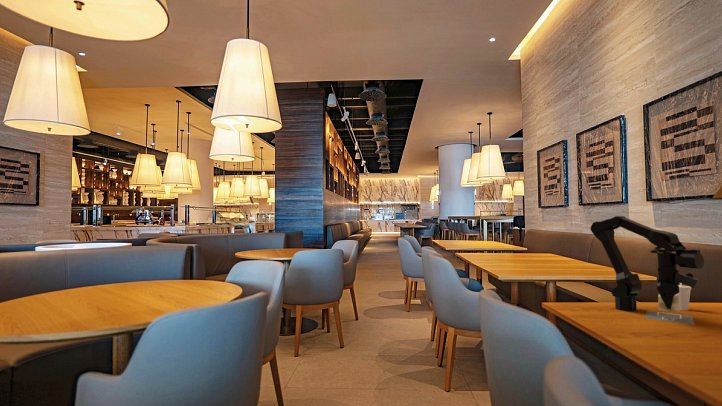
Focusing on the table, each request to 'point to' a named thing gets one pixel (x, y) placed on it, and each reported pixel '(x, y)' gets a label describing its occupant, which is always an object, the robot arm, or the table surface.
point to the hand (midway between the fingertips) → (668, 307)
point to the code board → (670, 317)
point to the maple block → (674, 307)
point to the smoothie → (684, 296)
